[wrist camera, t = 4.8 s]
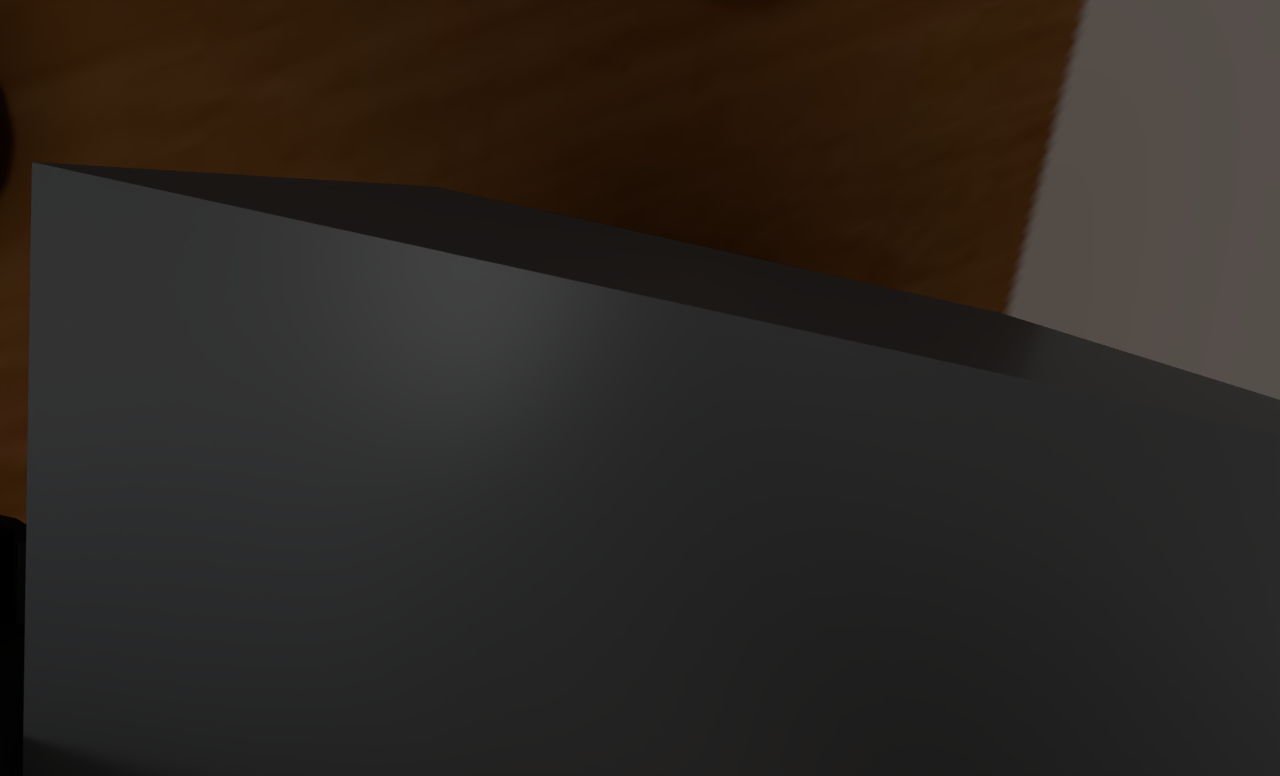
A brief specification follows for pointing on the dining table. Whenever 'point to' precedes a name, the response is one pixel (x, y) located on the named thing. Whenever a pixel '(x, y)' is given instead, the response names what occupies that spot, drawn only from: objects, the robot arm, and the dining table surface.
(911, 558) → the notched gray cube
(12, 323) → the dining table surface
